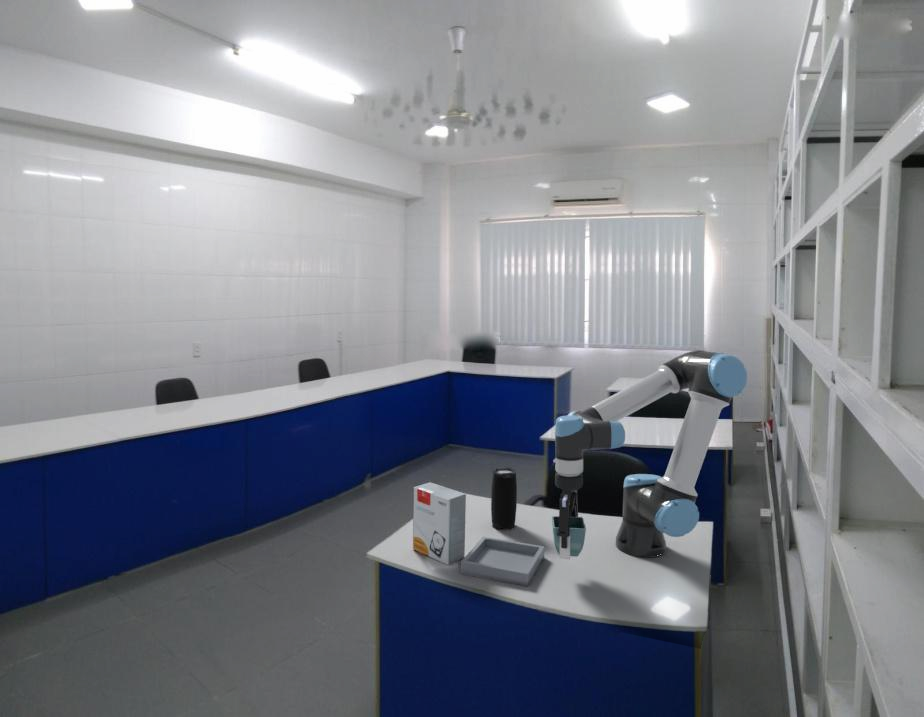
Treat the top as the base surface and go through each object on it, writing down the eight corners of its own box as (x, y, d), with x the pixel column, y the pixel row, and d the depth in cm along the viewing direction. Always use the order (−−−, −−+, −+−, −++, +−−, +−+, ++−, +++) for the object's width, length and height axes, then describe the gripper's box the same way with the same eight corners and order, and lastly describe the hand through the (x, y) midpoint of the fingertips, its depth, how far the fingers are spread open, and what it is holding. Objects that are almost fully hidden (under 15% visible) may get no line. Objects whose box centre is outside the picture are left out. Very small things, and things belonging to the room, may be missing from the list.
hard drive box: (411, 550, 182) (412, 486, 180) (429, 542, 188) (430, 481, 186) (448, 565, 171) (448, 498, 170) (465, 557, 177) (466, 492, 175)
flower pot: (582, 546, 169) (582, 516, 168) (585, 560, 160) (586, 528, 160) (551, 545, 170) (551, 515, 169) (553, 559, 161) (553, 527, 160)
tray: (544, 557, 178) (544, 546, 177) (527, 586, 160) (528, 574, 159) (483, 547, 185) (483, 536, 184) (460, 573, 167) (460, 561, 166)
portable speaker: (511, 520, 208) (512, 465, 206) (519, 530, 199) (521, 473, 197) (487, 521, 206) (488, 466, 204) (494, 532, 197) (496, 474, 195)
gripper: (563, 460, 174) (562, 534, 177) (546, 482, 154) (546, 565, 156) (588, 463, 172) (588, 537, 174) (575, 485, 151) (574, 570, 154)
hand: (568, 551), depth 165 cm, fingers closed on flower pot, 9 cm apart
